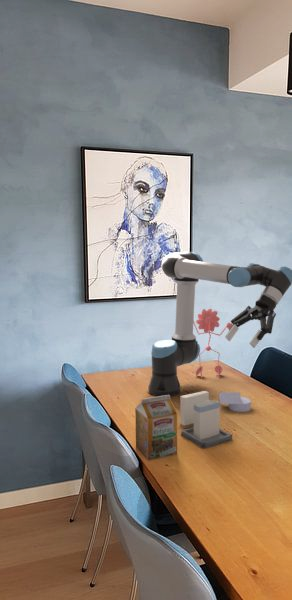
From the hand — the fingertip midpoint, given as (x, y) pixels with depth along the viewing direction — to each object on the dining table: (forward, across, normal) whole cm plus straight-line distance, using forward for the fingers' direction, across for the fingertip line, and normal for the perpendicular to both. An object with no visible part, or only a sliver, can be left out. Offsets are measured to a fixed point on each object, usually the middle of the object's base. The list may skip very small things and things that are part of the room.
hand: (239, 342), depth 180 cm
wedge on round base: (+16, +12, -29) cm, 35 cm away
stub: (+36, -5, -8) cm, 37 cm away
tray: (+36, -5, -8) cm, 38 cm away
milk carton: (+51, -4, +6) cm, 52 cm away
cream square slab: (+34, +7, -11) cm, 36 cm away
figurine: (+1, +56, -44) cm, 71 cm away
